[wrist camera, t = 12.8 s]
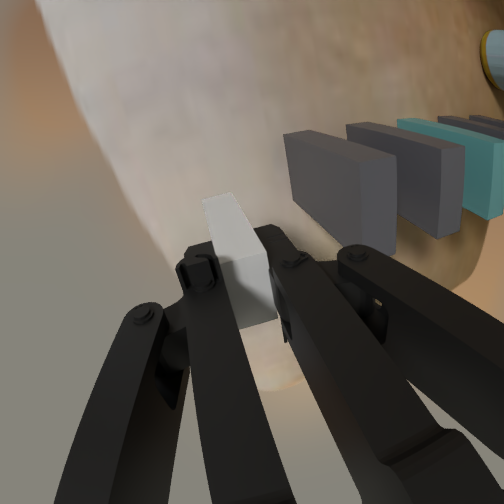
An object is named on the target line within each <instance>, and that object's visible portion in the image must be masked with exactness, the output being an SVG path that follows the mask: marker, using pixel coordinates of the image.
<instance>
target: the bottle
mask: <svg viewBox="0 0 504 504" xmlns="http://www.w3.org/2000/svg"><path fill="white" fill-rule="evenodd" d="M480 58H481V63H482V66H483V69H484V72H485V74H486V75H487V77H488V79H489V80H490V81H491V82H492V84H493V85H494V86H495V87H496V88H497V89H499V90H502V91H504V30H489V31H487V32H486V33H485V35H484V36H483V38H482V40H481V43H480Z"/></svg>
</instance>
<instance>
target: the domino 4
mask: <svg viewBox="0 0 504 504" xmlns="http://www.w3.org/2000/svg"><path fill="white" fill-rule="evenodd" d="M397 126H398V128H399V129H404V130H408V131H412V132H416V133H420V134H424V135H428V136H432V137H436V138H439V139H443V140H446V141H450V142H453V143H456V144H460V145H463V146H465V175H464V191H463V204H462V207H464V208H466V209H467V210H469V211H471V212H473V213H475V214H477V215H478V216H480V217H482V218H484V219H486V220H487V221H488V220H490V219H492V218H495V217H497V216H500V215H502V214H503V209H504V140H501V139H498V138H495V137H492V136H488V135H485V134H481V133H478V132H474V131H470V130H466V129H462V128H458V127H454V126H450V125H446V124H441V123H437V122H432V121H427V120H422V119H417V118H407V119H397Z"/></svg>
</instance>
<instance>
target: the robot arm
mask: <svg viewBox="0 0 504 504" xmlns="http://www.w3.org/2000/svg"><path fill="white" fill-rule="evenodd" d="M201 200H202V204H203V208H204V212H205V216H206V219H207V223H208V227H209V231H210V235H211V239H212V241H208V242H205V243H201V244H197V245H193V246H190V247H188V249H187V250H186V252H185V253H184V259H182V260H181V261H180V262H179V263H178V264H177V265H176V268H175V270H176V273H177V276H178V279H179V281H180V284H181V287H182V290H183V294H184V295H183V297H182V298H181V299H180V300H179V301H178V302H176V303H174V304H173V305H171V306H169V307H167V308H165V309H163V308H162V306H161V305H160V304H158V303H155V302H148V303H143V304H140V305H138V306H136V307H134V308H133V309H131V310H130V311H129V312H128V313H127V314H126V316H125V317H124V319H123V321H122V323H121V326H120V328H119V330H118V332H117V334H116V337H115V339H114V341H113V343H112V345H111V348H110V350H109V352H108V355H107V357H106V359H105V361H104V364H103V366H102V368H101V371H100V373H99V376H98V378H97V380H96V383H95V385H94V388H93V390H92V393H91V396H90V398H89V400H88V403H87V405H86V408H85V411H84V413H83V416H82V419H81V421H80V424H79V427H78V429H77V432H76V435H75V438H74V441H73V444H72V446H71V449H70V453H69V455H68V458H67V461H66V464H65V467H64V471H63V474H62V477H61V480H60V483H59V487H58V490H57V494H56V497H55V501H54V504H168V499H169V492H170V485H171V478H172V472H173V466H174V460H175V453H176V447H177V441H178V435H179V429H180V423H181V418H182V412H183V406H184V401H185V395H186V390H187V384H188V379H189V374H190V368H191V376H192V384H193V392H194V400H195V406H196V414H197V420H198V427H199V433H200V440H201V446H202V452H203V458H204V463H205V469H206V474H207V480H208V485H209V490H210V495H211V500H212V504H297V503H296V501H295V498H294V495H293V493H292V490H291V487H290V485H289V482H288V479H287V476H286V473H285V470H284V467H283V465H282V462H281V459H280V456H279V453H278V450H277V447H276V444H275V441H274V438H273V435H272V432H271V430H270V426H269V423H268V421H267V418H266V414H265V411H264V408H263V405H262V402H261V399H260V396H259V393H258V390H257V387H256V384H255V380H254V377H253V374H252V371H251V368H250V365H249V361H248V358H247V355H246V352H245V348H244V345H243V342H242V339H241V335H240V332H239V329H243V328H247V327H250V326H254V325H257V324H261V323H264V322H267V321H271V320H274V319H277V318H278V315H277V311H278V313H279V315H280V318H281V324H282V331H283V337H284V343H286V342H287V339H288V342H289V344H290V346H291V348H292V350H293V352H294V355H295V357H296V359H297V361H298V363H299V365H300V367H301V370H302V372H303V374H304V376H305V378H306V380H307V382H308V385H309V387H310V389H311V391H312V393H313V395H314V398H315V400H316V401H317V404H318V406H319V408H320V410H321V412H322V415H323V417H324V419H325V421H326V423H327V425H328V428H329V430H330V432H331V434H332V436H333V438H334V440H335V442H336V445H337V447H338V449H339V451H340V453H341V455H342V457H343V459H344V461H345V464H346V466H347V468H348V470H349V472H350V474H351V476H352V479H353V481H354V483H355V485H356V487H357V489H358V491H359V494H360V496H361V499H362V504H504V490H503V489H501V487H500V486H499V484H498V483H497V481H496V480H495V478H494V477H493V475H492V474H491V472H490V470H489V469H488V467H487V466H486V465H485V463H484V461H483V460H482V458H481V457H480V455H479V454H478V453H477V451H476V450H475V448H474V447H473V445H472V444H471V442H470V441H469V440H468V439H467V438H466V436H464V434H463V433H462V432H460V431H458V430H456V429H444V428H443V427H441V426H440V425H439V424H438V423H437V422H436V420H435V419H434V417H433V416H432V415H431V413H430V412H429V410H428V409H427V408H426V406H425V405H424V403H423V402H422V400H421V399H420V398H419V396H418V395H417V393H416V392H415V391H414V389H413V388H412V386H411V385H410V384H409V382H410V383H412V384H413V385H414V386H415V387H416V388H418V389H419V390H420V391H421V392H422V393H424V394H425V395H426V396H427V397H428V398H430V399H431V400H432V401H433V402H434V403H436V404H437V405H438V406H439V407H440V408H441V409H443V410H444V411H445V412H446V413H448V414H449V415H450V416H451V417H452V418H453V419H455V420H456V421H457V422H458V423H459V424H461V425H462V426H463V427H464V428H465V429H467V430H468V431H469V432H470V433H471V434H473V435H474V436H475V437H476V438H477V439H479V440H480V441H481V442H482V443H483V444H484V445H486V446H487V447H488V448H489V449H490V450H492V451H493V452H494V453H495V454H497V455H498V456H499V457H501V458H502V459H504V324H503V323H502V322H500V321H499V320H497V319H495V318H494V317H492V316H491V315H489V314H488V313H486V312H484V311H483V310H481V309H479V308H478V307H476V306H475V305H473V304H471V303H469V302H468V301H466V300H464V299H463V298H461V297H460V296H458V295H456V294H454V293H453V292H451V291H449V290H448V289H446V288H444V287H443V286H441V285H439V284H437V283H436V282H434V281H432V280H430V279H429V278H427V277H425V276H423V275H421V274H420V273H418V272H416V271H414V270H413V269H411V268H409V267H407V266H405V265H403V264H402V263H400V262H398V261H396V260H394V259H392V258H391V257H389V256H387V255H385V254H383V253H381V252H379V251H378V250H376V249H374V248H372V247H369V246H366V245H360V244H355V245H354V244H353V245H349V246H346V247H343V248H342V249H340V250H339V252H338V253H337V260H334V261H315V260H314V259H313V258H312V256H311V255H309V254H308V253H306V252H303V251H298V250H297V249H296V248H295V246H294V245H293V244H292V243H291V241H290V240H289V239H288V238H287V236H286V235H285V234H284V232H283V231H282V230H281V229H280V227H277V226H275V225H272V224H269V225H265V226H262V227H258V228H254V229H253V228H252V226H251V224H250V223H249V221H248V219H247V218H246V216H245V214H244V213H243V211H242V209H241V208H240V206H239V204H238V203H237V201H236V199H235V197H234V196H233V194H232V192H228V193H224V194H220V195H217V196H213V197H209V198H205V199H201ZM375 299H377V300H378V301H380V302H381V303H382V306H380V305H378V304H377V303H375ZM406 379H407V380H408V381H409V382H408V381H407V380H406Z"/></svg>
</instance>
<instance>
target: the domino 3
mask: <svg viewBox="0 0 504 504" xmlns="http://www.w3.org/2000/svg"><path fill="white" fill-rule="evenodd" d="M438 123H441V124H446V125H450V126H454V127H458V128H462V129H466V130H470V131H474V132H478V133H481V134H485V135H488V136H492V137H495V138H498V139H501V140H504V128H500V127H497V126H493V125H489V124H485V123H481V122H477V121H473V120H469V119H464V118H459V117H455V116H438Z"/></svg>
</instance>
